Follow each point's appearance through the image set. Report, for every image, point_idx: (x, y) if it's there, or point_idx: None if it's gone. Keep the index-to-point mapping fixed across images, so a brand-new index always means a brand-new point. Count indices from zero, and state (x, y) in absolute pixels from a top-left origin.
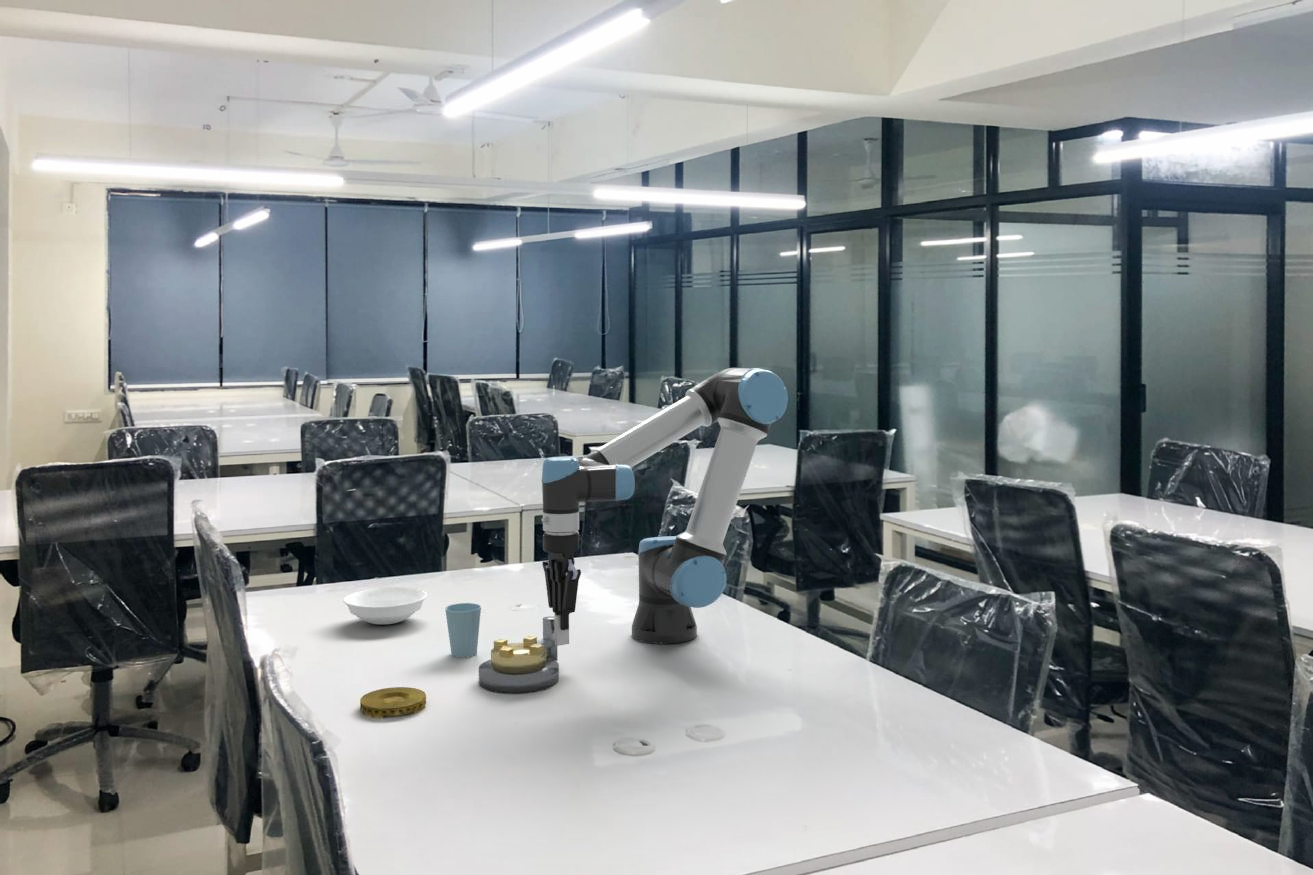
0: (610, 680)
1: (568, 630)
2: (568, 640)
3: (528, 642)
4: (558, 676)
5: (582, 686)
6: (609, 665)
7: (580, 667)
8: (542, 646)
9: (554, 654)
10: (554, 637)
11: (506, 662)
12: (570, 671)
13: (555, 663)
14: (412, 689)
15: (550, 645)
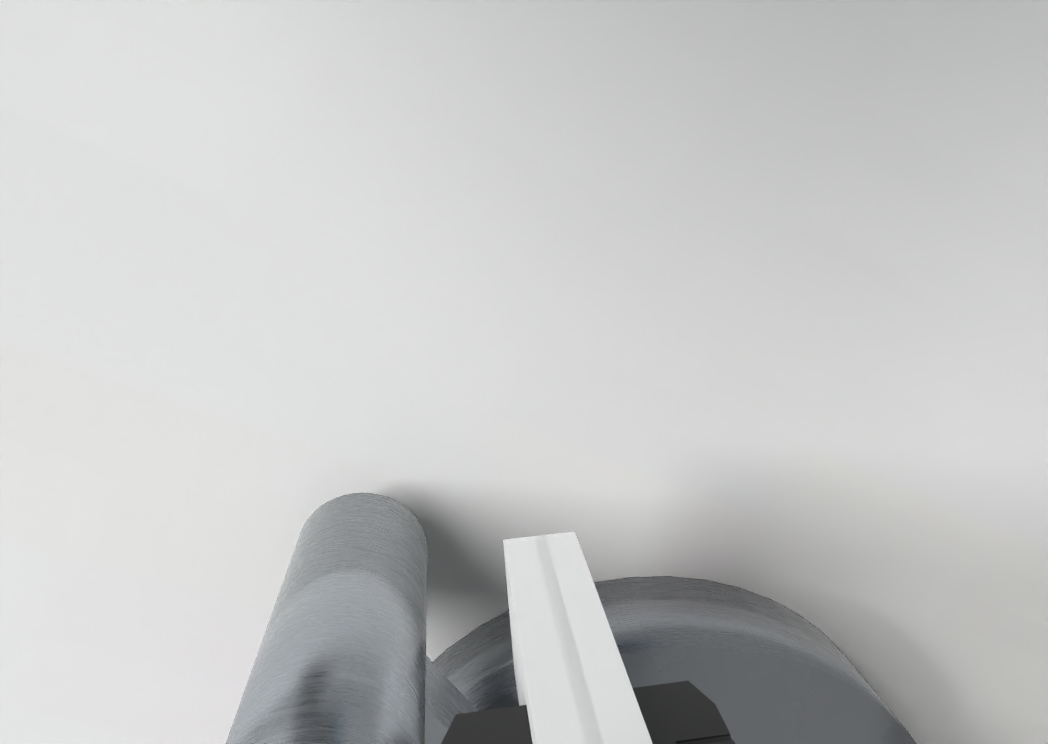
0: (991, 261)
1: (612, 636)
2: (582, 559)
3: None
4: (795, 625)
5: (971, 498)
6: (644, 75)
7: (562, 339)
8: None
9: (423, 568)
10: (419, 679)
11: None
12: (617, 451)
13: (743, 670)
14: None
15: (437, 671)
